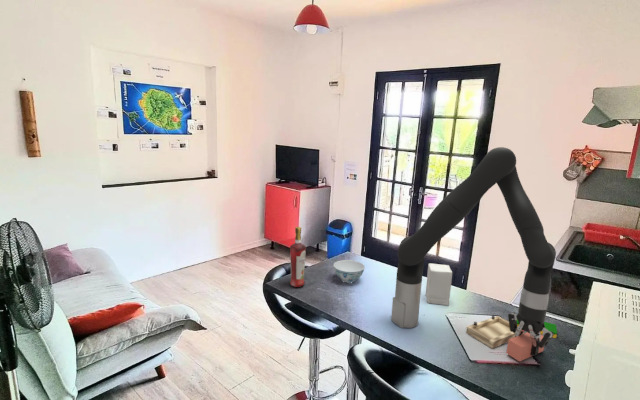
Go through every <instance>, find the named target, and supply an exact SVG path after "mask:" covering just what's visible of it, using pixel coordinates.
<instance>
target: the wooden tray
mask: <svg viewBox="0 0 640 400" xmlns="http://www.w3.org/2000/svg"><path fill="white" fill-rule="evenodd" d="M517 328H518V326H517ZM465 329H466V330H465V333H466V334H467V333H468V335H469V336H471V337H472V338H474V339H476V340H477V339H478V340H477V341H479V342H480V341H481V342H480V343H482V344H483V345H485V344H486V345H485V346H487V347H488V346H489V348H490V349H492V348H493V349H495V348H497V346H498V347H499V345H500V346H502V345H501V344H503V345H504V343H505V344H507V343H508V340H509V339H511V338H514V337H515V334H514V333H513V332H511V331H510V326H509V320H507V319H505V318H502V317H500V316H499V315H496V316H494V315H491V317H490V318H488V319H485V320H482V321H479V322H477V321H473V324H470V325H467V326H466V328H465ZM524 333H525V331H524V332H523V334H524ZM506 342H507V343H506ZM494 347H495V348H494Z"/></svg>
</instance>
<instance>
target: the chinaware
mask: <svg viewBox="0 0 640 400" xmlns="http://www.w3.org/2000/svg"><path fill="white" fill-rule="evenodd" d="M333 269H334V272H335V274H336V276H337V277H338V279H340V280H341V279H342V280H341V282H342V281H344V282H347V283H346V284H352V283H351V282H354V281H355V282H356V280H359V278H361V277H362V276H363V273H364V271H365V265H364V264H363V263H362V262H359V261H356V260H351V259H343V260H338V261H335V262H334V263H333ZM344 282H343V283H344ZM355 282H354V283H355Z"/></svg>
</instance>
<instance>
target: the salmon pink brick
mask: <svg viewBox="0 0 640 400" xmlns="http://www.w3.org/2000/svg"><path fill="white" fill-rule="evenodd" d="M540 335H541V337H540V341H541V340H542V338H543V337H544V336H543V335H542V334H540ZM532 345H533V343H532V339H531V337H530V334H529V333H528V332H527V331H526V332H524V334H522V335H519V336H517V337H514V338H511V339H509V340H508V342H507V348H506V354H507V355H508V356H510V357H512V358H513V359H515V360H516V361H518V362H522V361H525V360H526V359H529V358H531V357H532V356H531V355H530V353H531V347H532ZM544 350H545V346H544V347H543V348H540V347H539V351H538V354H540V353H542V352H544Z"/></svg>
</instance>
